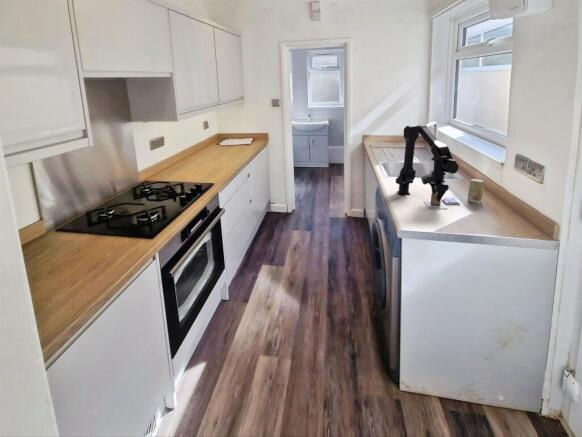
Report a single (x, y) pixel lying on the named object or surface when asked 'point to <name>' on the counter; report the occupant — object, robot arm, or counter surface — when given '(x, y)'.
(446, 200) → the tray
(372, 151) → the counter surface
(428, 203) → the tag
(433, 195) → the stamp
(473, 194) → the skincare box
